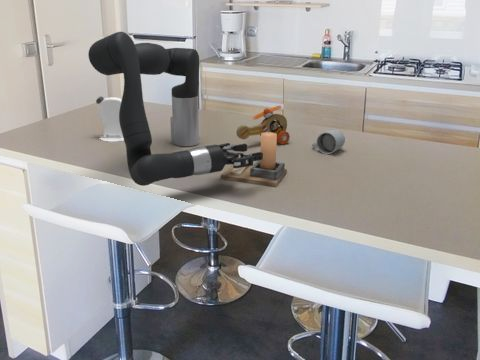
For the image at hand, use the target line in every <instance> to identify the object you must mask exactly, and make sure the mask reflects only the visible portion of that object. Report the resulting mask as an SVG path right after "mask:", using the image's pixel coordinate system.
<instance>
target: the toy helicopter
mask: <svg viewBox="0 0 480 360" xmlns="http://www.w3.org/2000/svg"><path fill="white" fill-rule="evenodd" d="M281 108H282V106H281V105H275V106H273V107H271V108H265V109H263V111H262V112H260V113H257V114H256V115H253V116H252V120H258V119H260V118H262V117H263V118H264V119H263V120H262V121H261V122H260V124H256V125H251V126H247V125H245V124H242V125H239V126H238V127H237V129H236V136H237V137H238V138H239V139H241V140H246V139H248V138H249V137H250V136H257V135H258V136H260V137H261V133H265V132H271V133H276V134H277V144H278V143H279V144H280V145H287V143H288V142H289V141H290V137H291V136H290V134H289V132H288V131H287V129H288V128H287V127H288V120H287V117H285V116H284V115H283V114H280V113H274V111H277V110H280V109H281Z"/></svg>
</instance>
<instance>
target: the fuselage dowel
mask: <svg viewBox="0 0 480 360" xmlns="http://www.w3.org/2000/svg"><path fill="white" fill-rule="evenodd" d="M277 144H278V142H277V134H276V133H271V132H265V133H261V136H260V151H259V152H262V153H263V159H262V160H260V169H266V170H274V171H275V164H276V162H277V161H276V160H277Z"/></svg>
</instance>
